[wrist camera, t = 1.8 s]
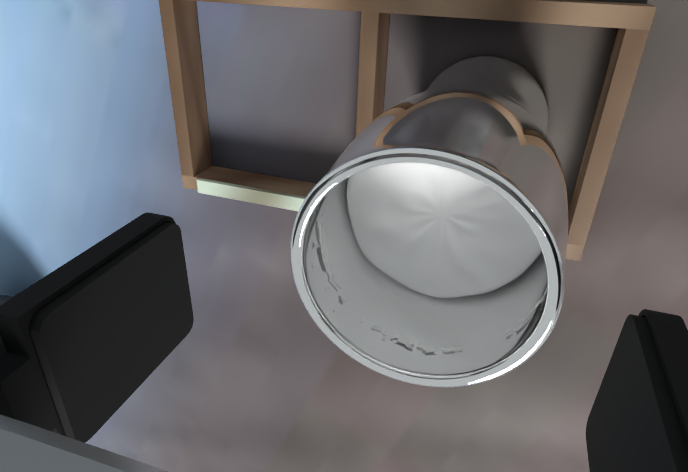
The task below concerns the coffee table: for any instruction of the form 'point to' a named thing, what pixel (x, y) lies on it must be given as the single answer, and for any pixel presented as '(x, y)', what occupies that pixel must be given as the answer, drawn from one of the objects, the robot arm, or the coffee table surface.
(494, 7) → the coaster frame
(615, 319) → the coffee table surface
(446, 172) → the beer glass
